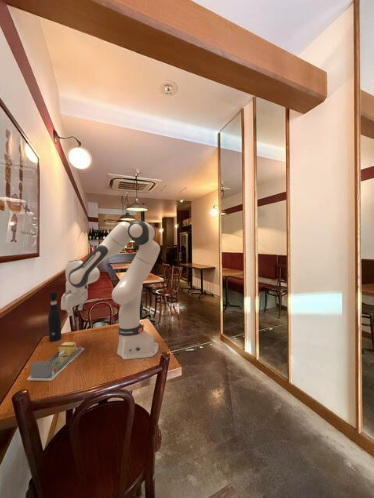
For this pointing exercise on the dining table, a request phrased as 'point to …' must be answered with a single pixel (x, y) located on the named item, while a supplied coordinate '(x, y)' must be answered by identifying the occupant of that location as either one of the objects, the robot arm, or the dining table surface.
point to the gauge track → (51, 366)
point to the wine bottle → (54, 319)
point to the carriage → (66, 348)
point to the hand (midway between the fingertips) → (75, 312)
